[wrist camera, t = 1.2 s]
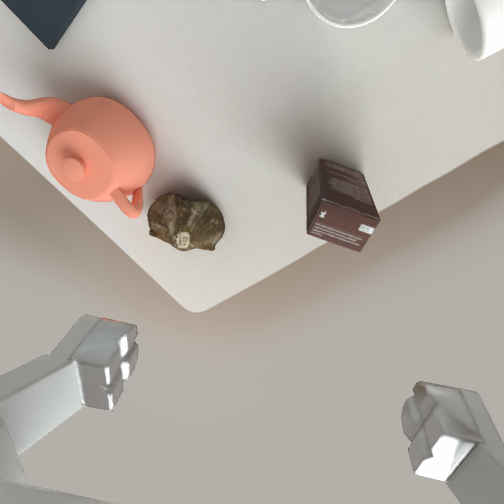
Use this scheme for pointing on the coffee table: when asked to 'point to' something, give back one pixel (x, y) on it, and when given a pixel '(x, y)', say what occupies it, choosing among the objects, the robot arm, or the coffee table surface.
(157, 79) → the coffee table surface
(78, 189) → the teapot
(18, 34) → the coffee table surface
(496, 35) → the mug
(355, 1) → the white cup
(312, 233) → the box
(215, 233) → the fossilized seashell
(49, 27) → the mat
